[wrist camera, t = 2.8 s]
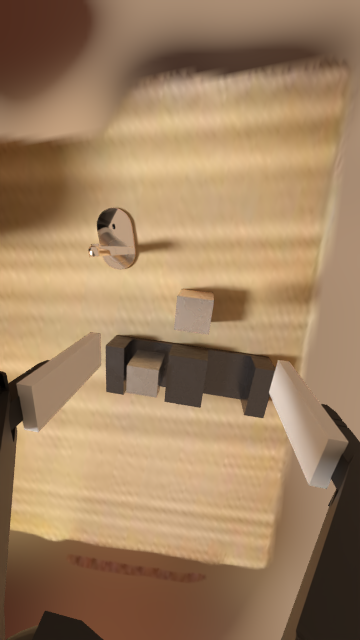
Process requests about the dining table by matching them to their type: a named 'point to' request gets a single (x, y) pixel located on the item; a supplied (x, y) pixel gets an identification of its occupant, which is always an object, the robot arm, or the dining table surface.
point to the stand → (114, 239)
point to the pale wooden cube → (194, 311)
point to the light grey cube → (145, 373)
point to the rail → (196, 373)
